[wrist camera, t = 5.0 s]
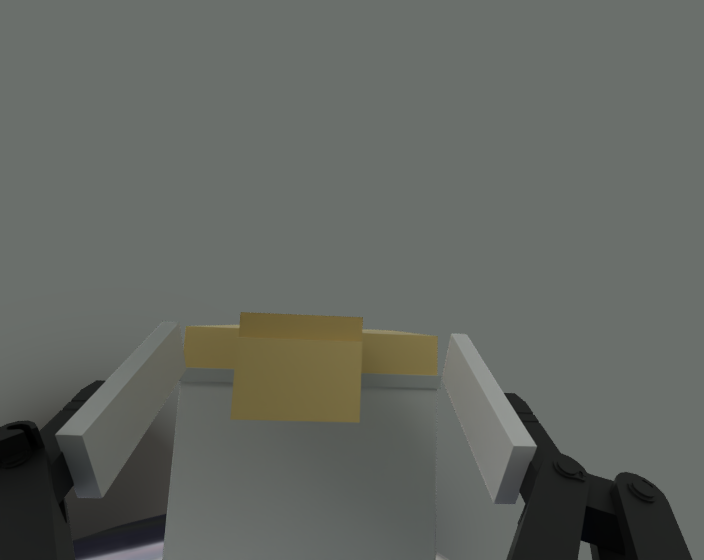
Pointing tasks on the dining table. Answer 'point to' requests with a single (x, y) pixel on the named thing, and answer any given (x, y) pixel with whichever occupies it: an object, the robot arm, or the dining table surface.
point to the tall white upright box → (304, 477)
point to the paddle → (304, 363)
